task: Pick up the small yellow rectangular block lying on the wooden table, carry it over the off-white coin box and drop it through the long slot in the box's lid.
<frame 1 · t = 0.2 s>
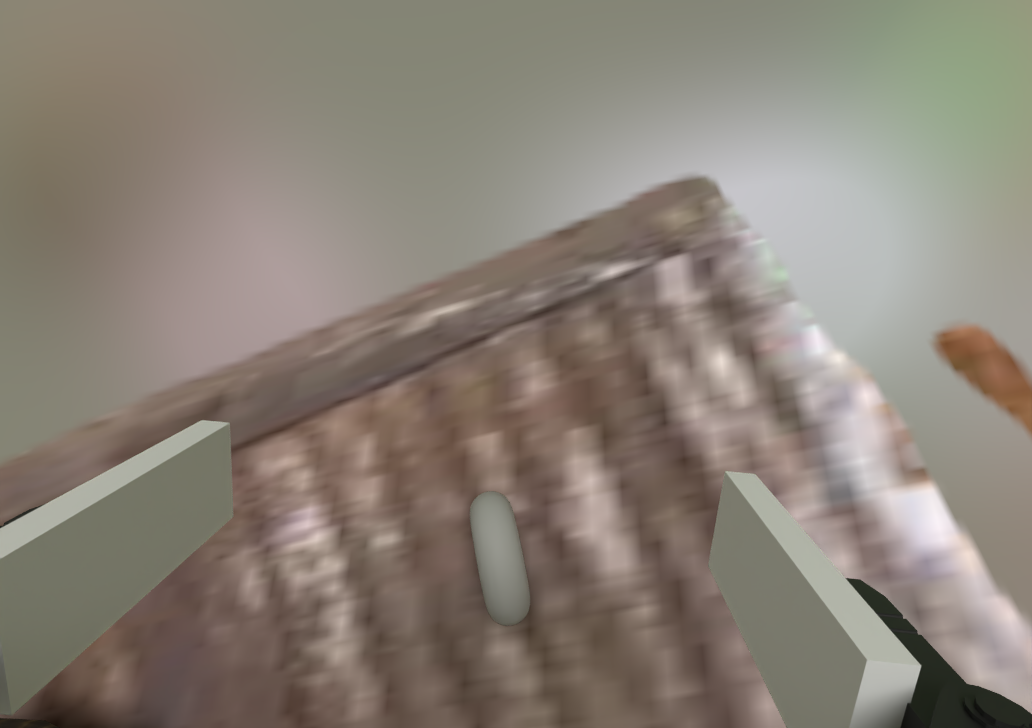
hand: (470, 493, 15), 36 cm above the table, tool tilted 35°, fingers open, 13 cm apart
donut: (501, 560, 48), on the table
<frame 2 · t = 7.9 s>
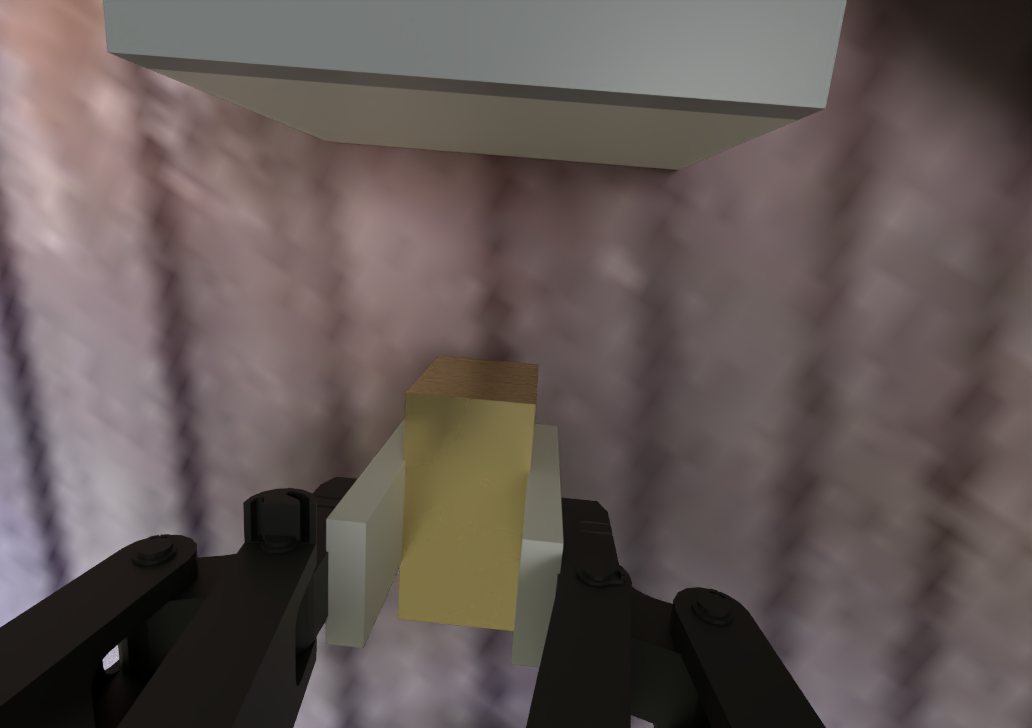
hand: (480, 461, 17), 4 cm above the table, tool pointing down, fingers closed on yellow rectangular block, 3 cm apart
yellow rectangular block: (481, 454, 17), point 4 cm above the table, touching gripper
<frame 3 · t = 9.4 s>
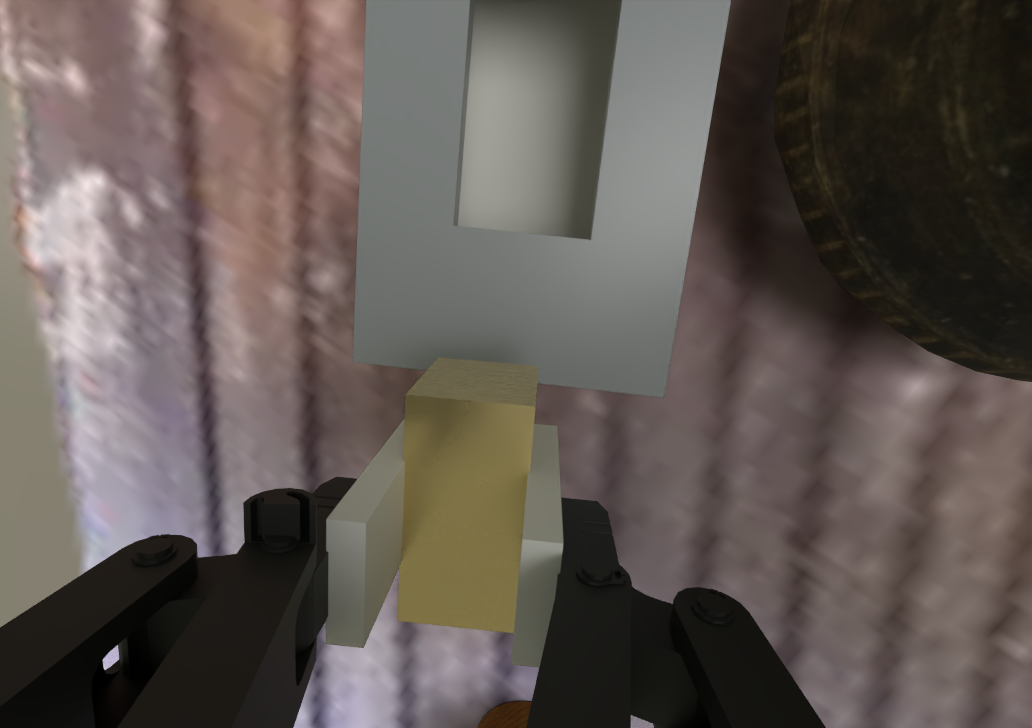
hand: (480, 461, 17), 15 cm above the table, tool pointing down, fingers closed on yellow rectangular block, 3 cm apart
ceramic pot: (975, 102, 28), on the table
coin box: (540, 145, 29), on the table
yellow rectangular block: (481, 455, 17), point 14 cm above the table, touching gripper
when the fingers open (12 cm above the table, at t = 11.1 s): yellow rectangular block drops 10 cm, resting on coin box.
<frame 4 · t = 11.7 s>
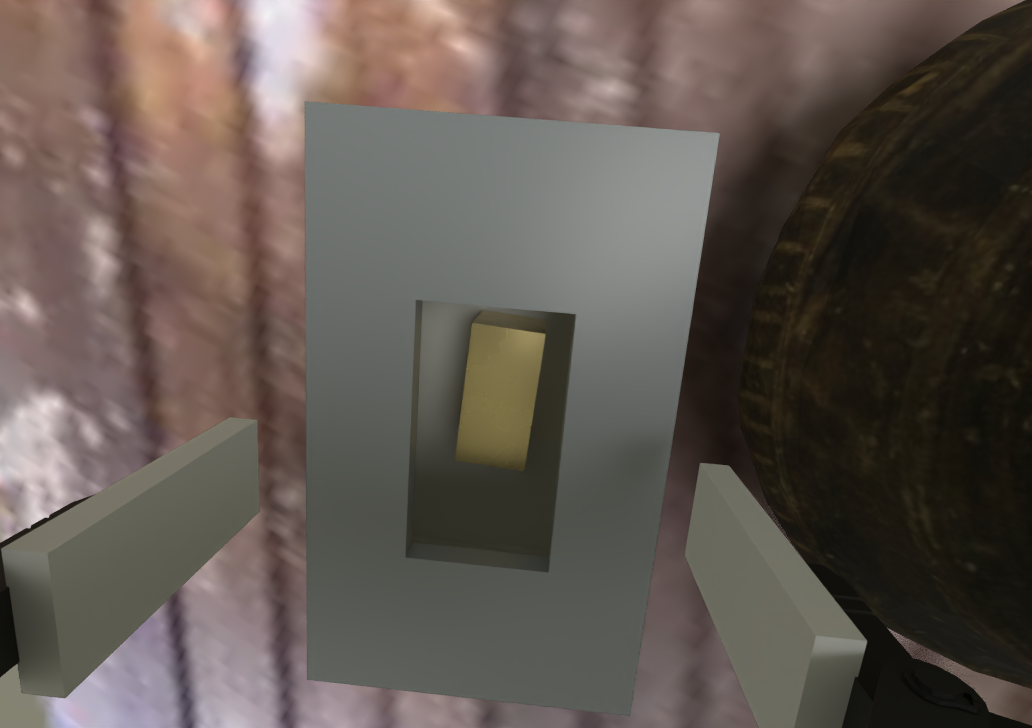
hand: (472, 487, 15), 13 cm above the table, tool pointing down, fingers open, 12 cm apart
ceramic pot: (952, 329, 27), on the table
coin box: (506, 371, 28), on the table
yellow rectangular block: (505, 375, 27), point 1 cm above the table, touching coin box
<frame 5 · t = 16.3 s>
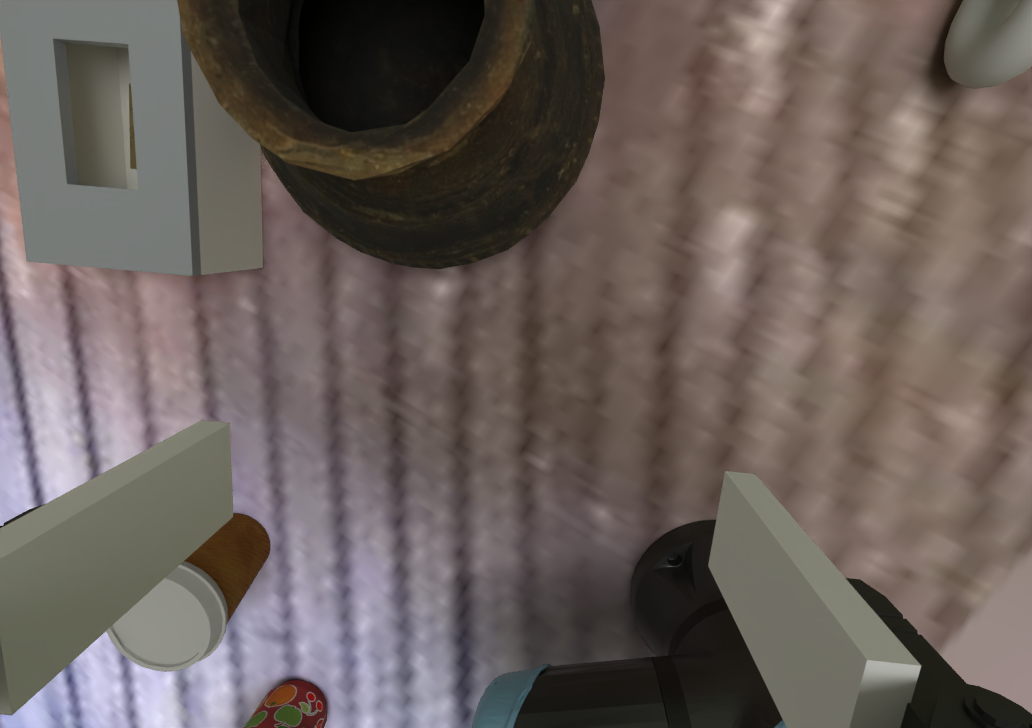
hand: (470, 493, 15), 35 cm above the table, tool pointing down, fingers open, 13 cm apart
smoothie: (301, 700, 59), on the table
disposable coffee cup: (240, 541, 55), on the table
ceramic pot: (442, 109, 45), on the table
coin box: (190, 140, 47), on the table
donut: (960, 34, 42), on the table
yellow rectangular block: (182, 138, 46), point 1 cm above the table, touching coin box
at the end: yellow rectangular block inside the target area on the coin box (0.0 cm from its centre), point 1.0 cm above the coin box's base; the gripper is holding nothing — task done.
